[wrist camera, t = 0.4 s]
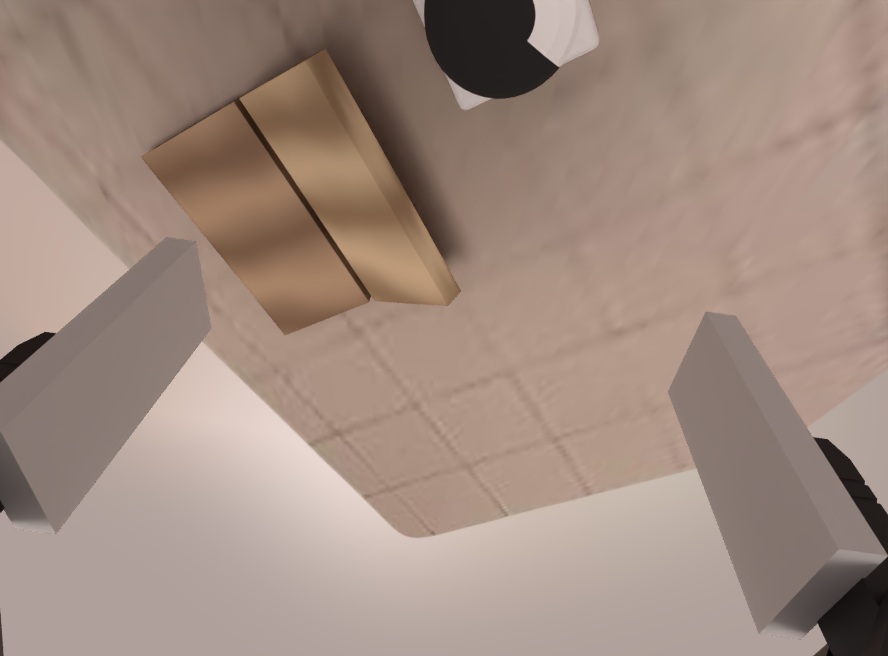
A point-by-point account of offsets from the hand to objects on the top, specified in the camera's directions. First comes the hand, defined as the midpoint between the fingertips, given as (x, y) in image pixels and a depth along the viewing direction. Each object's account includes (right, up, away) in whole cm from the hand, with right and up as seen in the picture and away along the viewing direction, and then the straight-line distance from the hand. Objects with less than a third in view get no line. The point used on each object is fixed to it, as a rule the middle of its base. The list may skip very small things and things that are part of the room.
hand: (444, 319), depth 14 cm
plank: (-5, +8, +20) cm, 22 cm away
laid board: (-12, +7, +25) cm, 29 cm away
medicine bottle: (+3, +18, +16) cm, 24 cm away
